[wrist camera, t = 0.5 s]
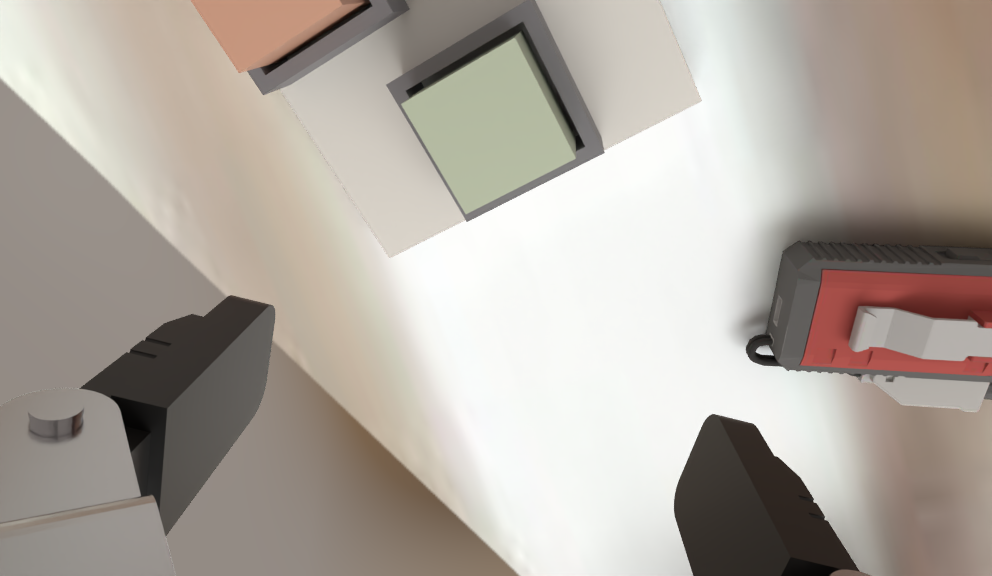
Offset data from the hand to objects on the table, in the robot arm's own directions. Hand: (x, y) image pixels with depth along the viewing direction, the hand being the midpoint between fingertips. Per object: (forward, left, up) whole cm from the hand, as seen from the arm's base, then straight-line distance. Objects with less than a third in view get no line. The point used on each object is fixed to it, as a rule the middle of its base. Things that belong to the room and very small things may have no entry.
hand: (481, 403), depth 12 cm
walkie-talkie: (-14, +19, -24) cm, 33 cm away
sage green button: (+1, -2, -19) cm, 20 cm away
